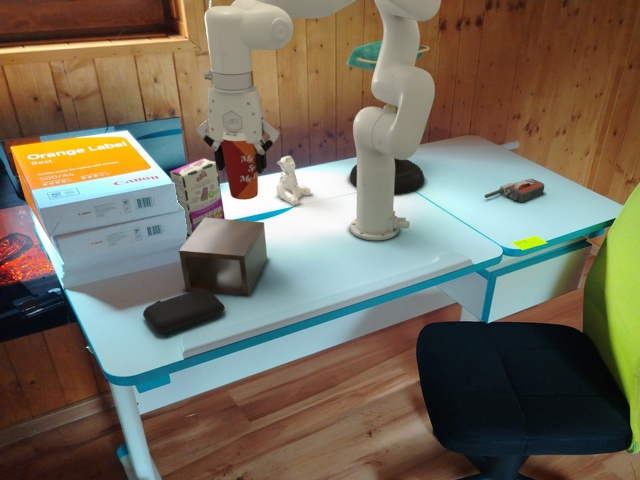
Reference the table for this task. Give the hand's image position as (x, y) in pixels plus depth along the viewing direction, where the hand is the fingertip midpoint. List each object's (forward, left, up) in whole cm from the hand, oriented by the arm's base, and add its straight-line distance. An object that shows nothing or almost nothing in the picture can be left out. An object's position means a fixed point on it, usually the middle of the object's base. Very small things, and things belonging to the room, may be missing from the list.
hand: (241, 169), depth 128 cm
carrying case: (+10, +17, -26) cm, 33 cm away
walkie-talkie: (-64, -57, -26) cm, 90 cm away
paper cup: (0, 0, -6) cm, 6 cm away
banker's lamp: (-25, -62, -26) cm, 72 cm away
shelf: (+6, 0, -26) cm, 27 cm away
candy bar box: (+19, -22, -26) cm, 40 cm away
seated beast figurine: (+1, -44, -26) cm, 52 cm away
